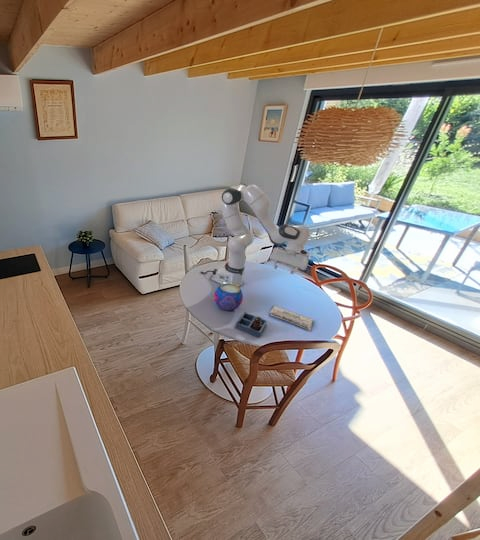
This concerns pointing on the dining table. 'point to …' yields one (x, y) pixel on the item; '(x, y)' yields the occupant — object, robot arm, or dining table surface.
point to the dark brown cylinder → (257, 323)
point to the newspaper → (292, 317)
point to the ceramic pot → (228, 296)
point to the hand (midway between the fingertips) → (283, 270)
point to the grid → (250, 324)
